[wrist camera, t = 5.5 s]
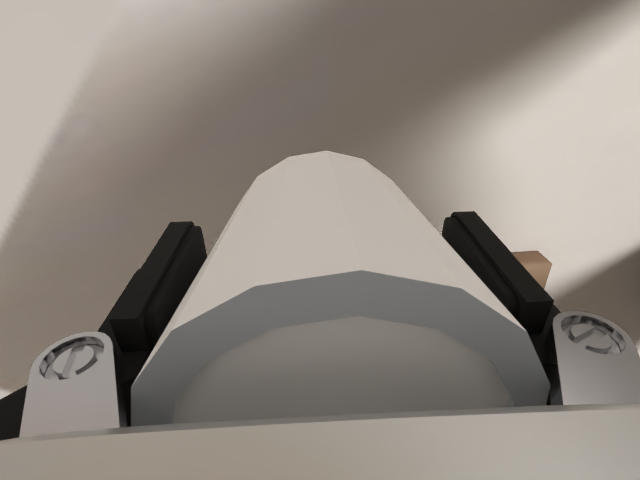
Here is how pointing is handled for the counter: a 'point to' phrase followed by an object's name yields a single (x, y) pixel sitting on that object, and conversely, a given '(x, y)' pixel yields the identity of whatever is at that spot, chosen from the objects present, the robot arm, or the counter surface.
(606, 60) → the counter surface
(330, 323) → the shot glass
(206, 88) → the counter surface
